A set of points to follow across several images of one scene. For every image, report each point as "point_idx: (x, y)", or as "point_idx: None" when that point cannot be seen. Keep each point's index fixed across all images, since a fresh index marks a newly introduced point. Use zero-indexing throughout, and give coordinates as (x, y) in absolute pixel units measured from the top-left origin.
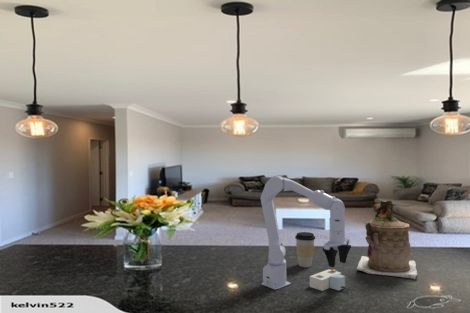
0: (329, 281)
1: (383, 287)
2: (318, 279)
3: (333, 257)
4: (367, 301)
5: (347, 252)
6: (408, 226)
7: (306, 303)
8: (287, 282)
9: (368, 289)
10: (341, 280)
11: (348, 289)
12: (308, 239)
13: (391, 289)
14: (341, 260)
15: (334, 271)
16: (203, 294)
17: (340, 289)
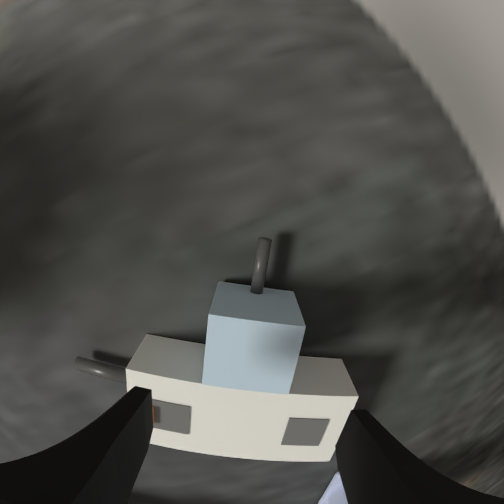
0: None
1: (55, 110)
2: (348, 415)
3: (440, 474)
4: (332, 86)
5: (75, 457)
6: None
7: (495, 324)
8: (339, 482)
9: (132, 156)
10: (263, 311)
11: (268, 238)
12: None
13: (61, 67)
14: (147, 431)
15: None
16: None
17: (273, 289)
